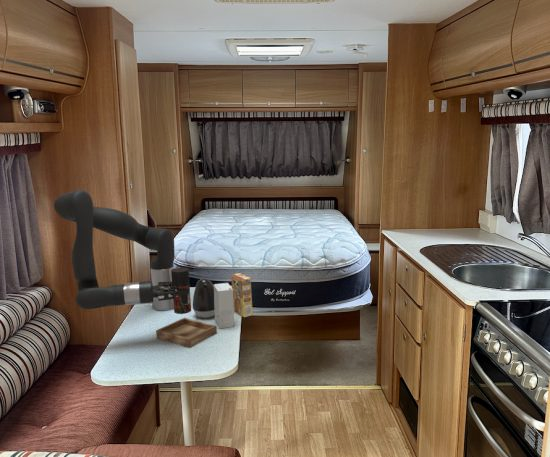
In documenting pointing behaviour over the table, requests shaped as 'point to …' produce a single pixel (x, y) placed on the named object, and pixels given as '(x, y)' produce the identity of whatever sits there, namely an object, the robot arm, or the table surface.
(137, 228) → the robot arm
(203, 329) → the tray
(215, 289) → the skincare box
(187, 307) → the deodorant
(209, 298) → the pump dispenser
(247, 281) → the candy box
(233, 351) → the table surface
